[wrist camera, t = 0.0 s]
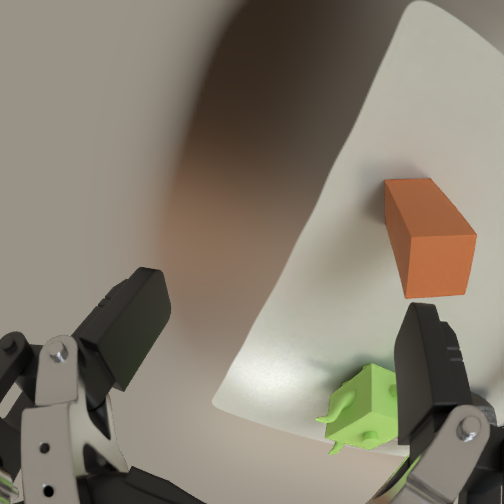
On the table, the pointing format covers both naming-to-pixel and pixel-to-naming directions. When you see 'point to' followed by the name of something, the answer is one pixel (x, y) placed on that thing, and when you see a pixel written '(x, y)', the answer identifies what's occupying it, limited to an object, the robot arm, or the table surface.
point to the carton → (428, 239)
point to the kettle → (363, 410)
